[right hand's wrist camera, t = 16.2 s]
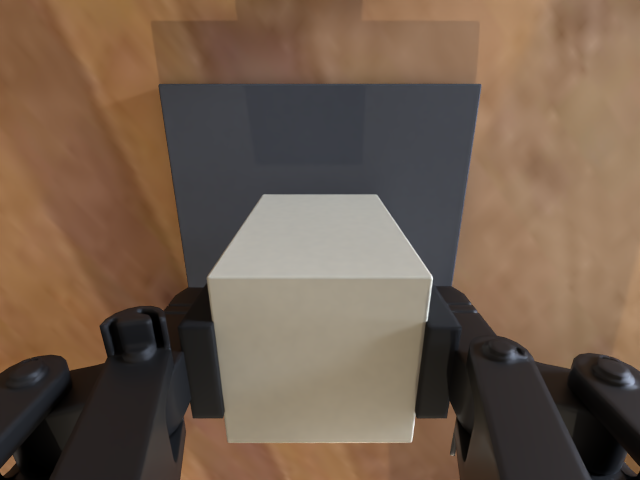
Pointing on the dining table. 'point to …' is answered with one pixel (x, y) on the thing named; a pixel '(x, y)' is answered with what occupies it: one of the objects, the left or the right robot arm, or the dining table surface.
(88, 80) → the dining table surface
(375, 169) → the dark grey square plate
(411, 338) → the cap block
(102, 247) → the dining table surface
